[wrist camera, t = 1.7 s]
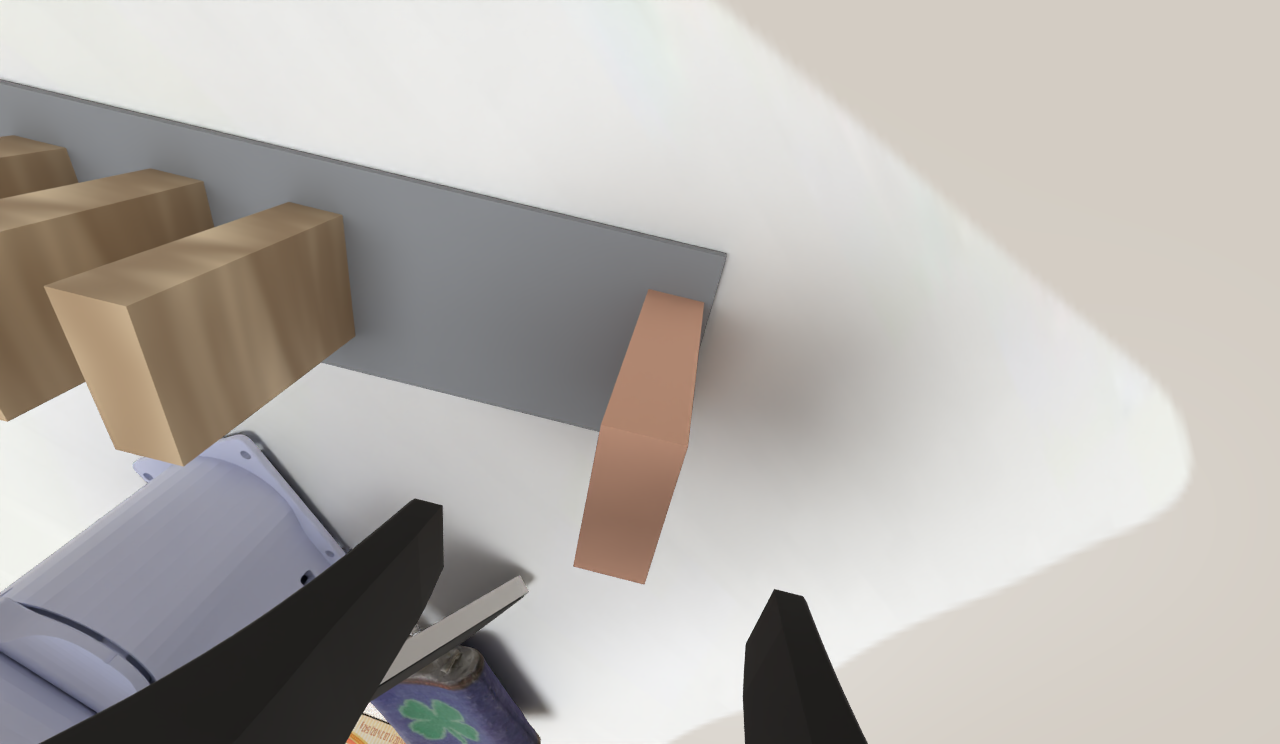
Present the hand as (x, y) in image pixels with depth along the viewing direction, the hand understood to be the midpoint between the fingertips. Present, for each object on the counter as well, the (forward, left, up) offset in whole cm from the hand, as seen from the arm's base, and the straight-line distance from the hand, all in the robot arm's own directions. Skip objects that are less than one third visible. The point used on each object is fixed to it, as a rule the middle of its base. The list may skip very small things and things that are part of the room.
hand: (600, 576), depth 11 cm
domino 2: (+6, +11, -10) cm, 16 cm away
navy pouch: (-24, +20, -11) cm, 33 cm away
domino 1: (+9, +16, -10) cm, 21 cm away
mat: (+8, +13, -10) cm, 18 cm away
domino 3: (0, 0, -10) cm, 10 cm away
